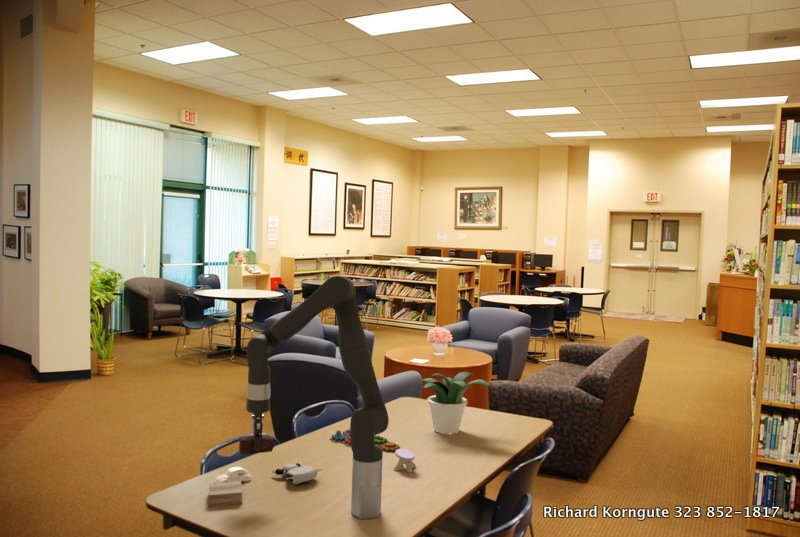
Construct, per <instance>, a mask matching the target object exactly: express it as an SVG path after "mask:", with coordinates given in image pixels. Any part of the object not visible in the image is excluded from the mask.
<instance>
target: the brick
mask: <svg viewBox="0 0 800 537" xmlns="http://www.w3.org/2000/svg"><path fill="white" fill-rule="evenodd" d="M253 437H254V436H253V435H252V436H241V437H239V439H238V441H239V442H238V443H239V444H238V445H239V446H238V451H239V454H240V455H250V454H259V453H260V454H261V453H263V454H264V453H270V452H273V450H274V448H275V441H274V437H272V436H271V435H262V439H261V450H260V451H254V439H253Z"/></svg>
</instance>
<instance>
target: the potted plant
mask: <svg viewBox="0 0 800 537" xmlns="http://www.w3.org/2000/svg"><path fill="white" fill-rule="evenodd" d="M472 376H473V377H474V376H475V374H474V373H471V372H468V371H461V372H459V373H457V374H456V375H455V376H454V377H453V378H452V377H447V376H445V374H442V373H437V372H436V373H434V374H432V375H431V377H429V378H424V379H421V382H423V381H424V382H426V383H425V385H424V386H423V387H422V389H424V390H425V389H430V388H432V390H433V392H434V394H433V395H431V396H428V397H427V398H426V399H427V404H428V405H429V408H430V414H431V421H432V426H433V427H432V428H433V431H434V430H435V431H436V432H435V431H434V432H435V433H437V432H439V433H438V434H440V433H444V434H443V435H450V434H449V433H456V432H458V431H460V428H461V423H462V418H463V415H464V413H465V412H464V411H465V407H467V405H468V402H469V401H468V399H467V398H465V397H463V396H464V394H465V392H466V390H467V389H468V388H469V387H471V386H472V385H475V384H476V385H482V386H486V387H491V385H490V384H489V383H488V382H487V381H485V380H484V379H476V380H472V381H470V382H468V383H466V381H467V380H469V378H471V377H472ZM432 377H440V378H442V382H441V381H438V380H436V379H435V378H432ZM458 433H459V432H458ZM456 434H457V433H456Z"/></svg>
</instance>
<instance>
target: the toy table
mask: <svg viewBox="0 0 800 537" xmlns="http://www.w3.org/2000/svg"><path fill="white" fill-rule="evenodd" d="M394 452H395V453H394V454H395V456H396V457H397V458H398V461H397V463H396V464H395V465H394V466H393V470H394V471H400V470H401V468H402V467H404V465H405V468H406V469H405V470H406V471H407V472H408V471H409V472H408V473H412V471H413V470H412V468H416V467H417V466H416V465H417V464H416V463H414V462H413V461H414V460H415V454H414V453H413V452H412V451H410V450H407V449H403V448H400V449H398V450H394ZM401 466H402V467H401ZM415 466H416V467H415ZM411 467H412V468H411ZM399 469H400V470H399Z"/></svg>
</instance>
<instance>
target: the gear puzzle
mask: <svg viewBox="0 0 800 537" xmlns="http://www.w3.org/2000/svg"><path fill="white" fill-rule="evenodd" d="M329 441H331V443H334V444H336V443H339V444H343V445H344V446H345V447H348V446H349V447H351V439H350V428H348V429H345V430H343V431H342V432H341V430H339V429H337V430H336V431H335V434H332V435H331V437H330V438H329ZM374 444H375V445H377V446H379V447H381V448H382V451H384V450H385V451H386V452H388V451H390V452H393V451H394V452H395V451H396V450H398V449H401V446H400V445H399V444H396V442H392V441H391V442H390V441H389V440H388V439H387V438H385V437H383V436H381V435H374Z"/></svg>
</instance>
